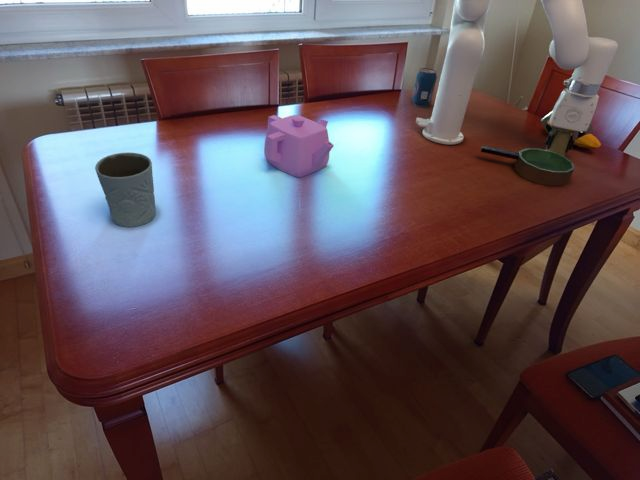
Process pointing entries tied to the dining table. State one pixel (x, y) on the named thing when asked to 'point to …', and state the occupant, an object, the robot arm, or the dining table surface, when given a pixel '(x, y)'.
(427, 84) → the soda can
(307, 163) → the teakettle
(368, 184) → the dining table surface
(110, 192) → the gray embossed cup
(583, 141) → the corn
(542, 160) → the pan
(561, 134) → the cork
